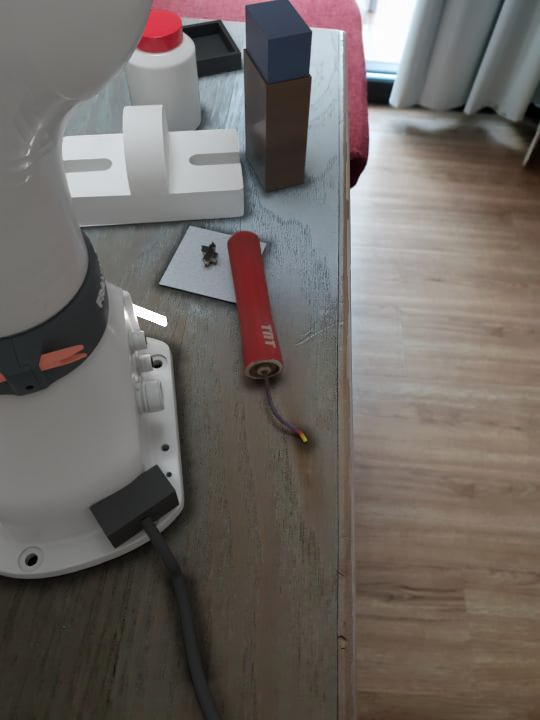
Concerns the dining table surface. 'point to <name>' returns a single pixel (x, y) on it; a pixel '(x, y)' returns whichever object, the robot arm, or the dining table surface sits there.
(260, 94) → the dark brown tall block
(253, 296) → the dynamite stick
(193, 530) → the dining table surface
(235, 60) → the dark rectangular tray
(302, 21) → the dark blue rectangular block
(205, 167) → the slotted mounting bracket
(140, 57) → the pill bottle
